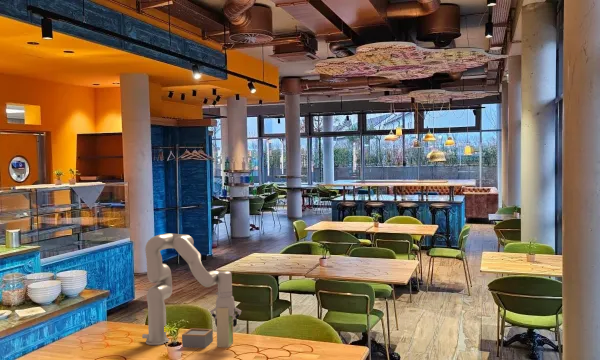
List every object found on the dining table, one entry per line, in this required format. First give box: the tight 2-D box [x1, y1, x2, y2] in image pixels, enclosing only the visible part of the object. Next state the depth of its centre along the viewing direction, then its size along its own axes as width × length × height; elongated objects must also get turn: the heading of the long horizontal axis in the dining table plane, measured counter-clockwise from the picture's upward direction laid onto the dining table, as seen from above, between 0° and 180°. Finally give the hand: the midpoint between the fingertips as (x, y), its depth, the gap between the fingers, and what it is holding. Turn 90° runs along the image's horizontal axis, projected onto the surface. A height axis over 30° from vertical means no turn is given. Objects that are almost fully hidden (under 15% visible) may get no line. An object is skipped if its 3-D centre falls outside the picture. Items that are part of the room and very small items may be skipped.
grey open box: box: [181, 328, 214, 349], centre depth 283 cm, size 13×12×7 cm
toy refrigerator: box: [216, 307, 234, 348], centre depth 280 cm, size 8×7×21 cm
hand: (226, 326), depth 280 cm, fingers open, 9 cm apart
